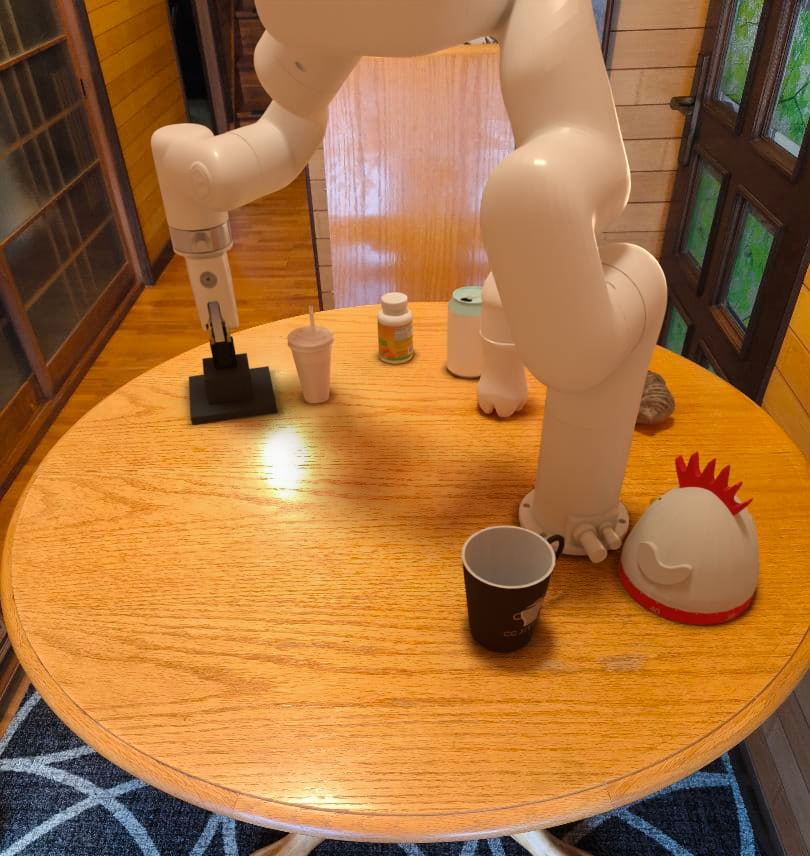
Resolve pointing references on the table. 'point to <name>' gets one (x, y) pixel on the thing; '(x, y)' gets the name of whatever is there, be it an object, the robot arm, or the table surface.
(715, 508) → the kitchen timer
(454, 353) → the can
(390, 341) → the supplement bottle
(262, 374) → the base pad
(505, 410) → the water bottle
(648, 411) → the seashell
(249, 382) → the top pad
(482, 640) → the coffee mug
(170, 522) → the table surface
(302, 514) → the table surface
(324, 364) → the smoothie
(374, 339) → the table surface
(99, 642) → the table surface
